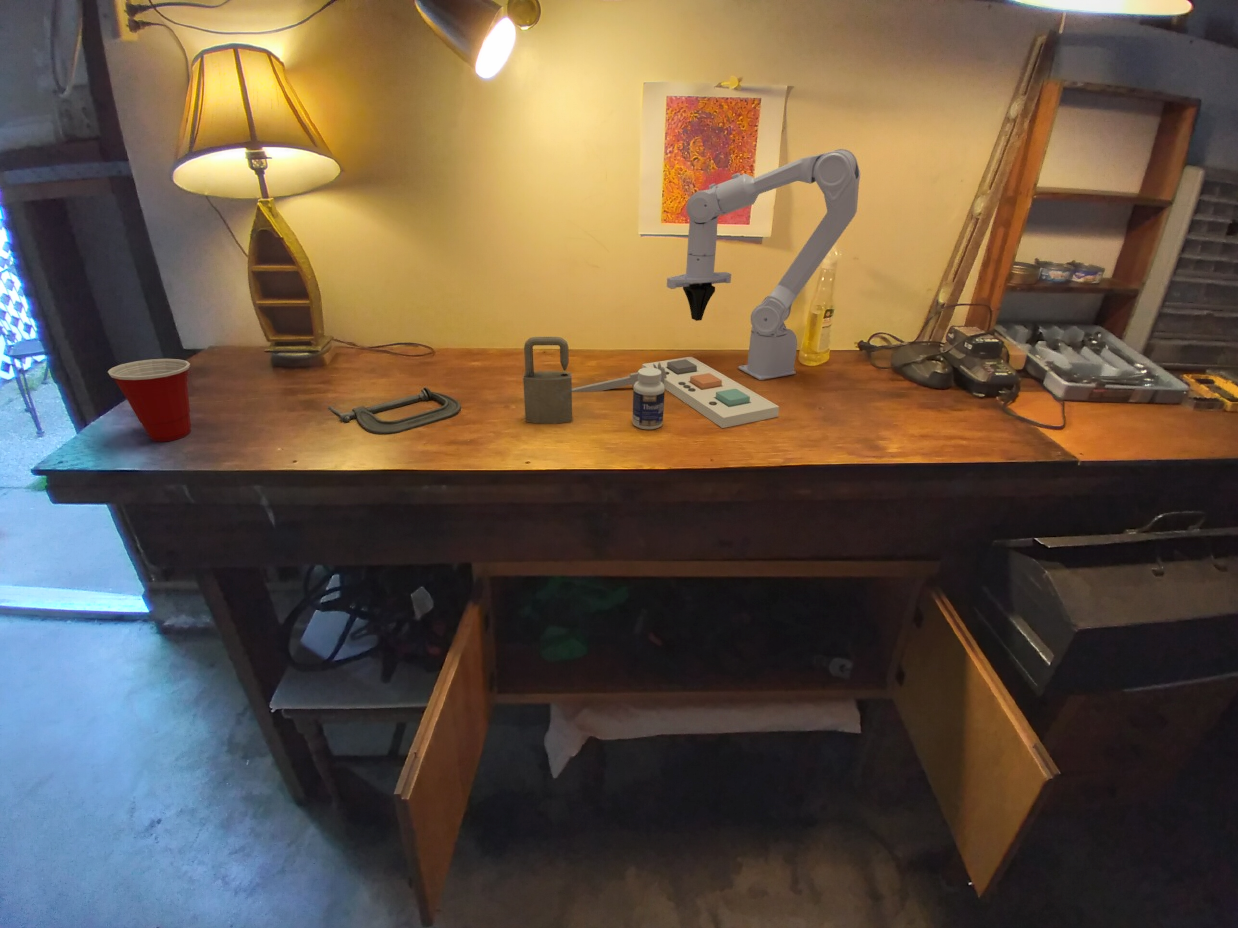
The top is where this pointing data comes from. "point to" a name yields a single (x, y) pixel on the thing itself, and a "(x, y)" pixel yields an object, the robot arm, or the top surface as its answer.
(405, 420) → the c clamp
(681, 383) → the button panel
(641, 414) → the pill bottle
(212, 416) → the top surface
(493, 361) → the top surface
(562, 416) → the padlock
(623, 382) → the caliper
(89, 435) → the top surface
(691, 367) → the button two
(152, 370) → the plastic cup
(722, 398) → the button one
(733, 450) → the top surface
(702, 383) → the button three
